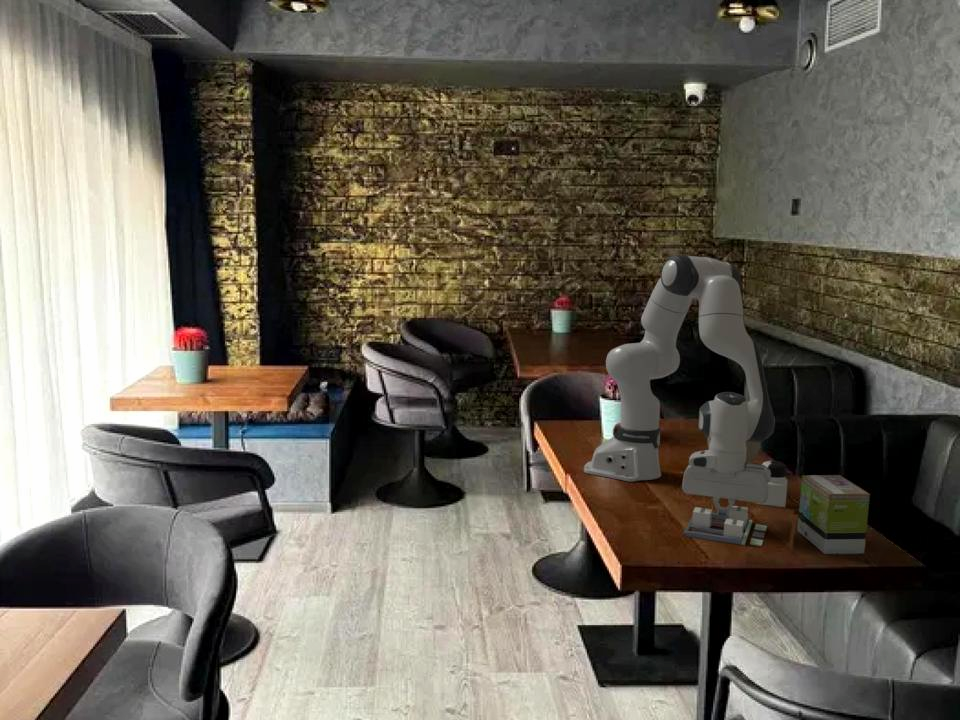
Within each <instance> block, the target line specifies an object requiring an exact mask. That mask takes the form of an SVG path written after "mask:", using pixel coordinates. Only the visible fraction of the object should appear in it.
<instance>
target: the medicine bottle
mask: <svg viewBox="0 0 960 720" xmlns="http://www.w3.org/2000/svg"><path fill="white" fill-rule="evenodd" d="M762 465H765V467H767V468H769V469H770V471H771V479H770V481H769V482H768V499H767V501H766V502H765V503H763V504H761V503H756V504H757V505H761V506H763V505H764V506H770V507H779V508H786V506H787V505H786V503H787V491H788V479H787V478H786V476H787V465H786V464H785V463H784V462H781V461H777V460H765V461H764V462H763V463H762ZM765 469H766V468H765Z"/></svg>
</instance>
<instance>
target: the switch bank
mask: <svg viewBox="0 0 960 720" xmlns="http://www.w3.org/2000/svg"><path fill="white" fill-rule="evenodd" d="M692 517H693V515H692V516H691V517H690V519H689V521H688V522H687V525H686V527H685V529H684V530H683V532H682V536H683V537H688V538H694V539H700V540H701V539H702V540H708V541H715V542H719V543H720V542H722V543H727V544H735V545H740V546H745V545H746V543H747V540H748V537H749V535H750V530H751V528H752V524H753V520H752V519H750V517H747V525H746V526H744V528H743V531H745V532H743V538H742V539H738V538H731V537H725V536H723V535H724V529H719V528H711V527H710V528H705V527H698V526H692ZM712 519H717V520H723V521H726V519H729V516H721V515H717V512H712ZM724 523H725V522H721V521H720V522H719V521H712V520H711V526H716V527H723V528H724ZM767 528H768V525H763V524H755V526H754V529H753V533H752V535H751V536H752V537H751V539H750V542H749V545H752V546H759V547H762V546H763V542H764V540H763V539H765V534H766V533H765V532H766V531H767ZM691 530H693V531H691ZM697 531H699V532H697ZM700 531H701V532H700ZM704 532H707V533H704ZM710 533H712V534H710ZM713 533H714V534H713ZM716 534H717V535H716ZM718 534H720V535H718Z"/></svg>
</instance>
